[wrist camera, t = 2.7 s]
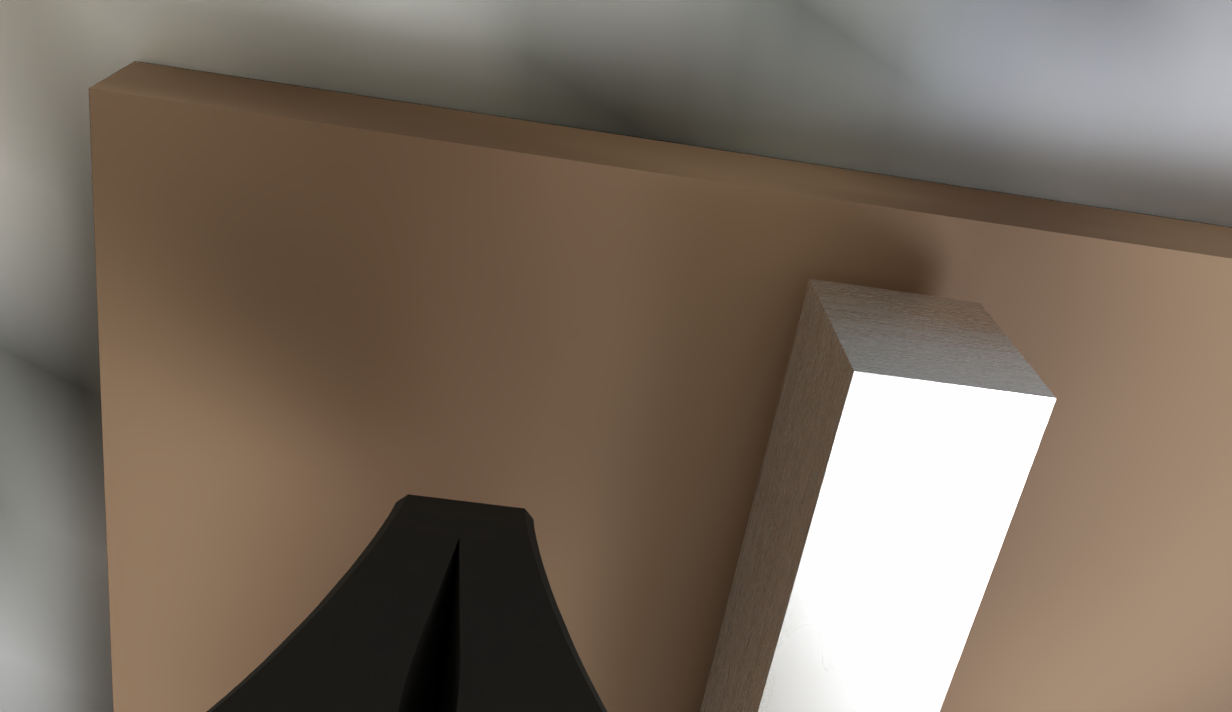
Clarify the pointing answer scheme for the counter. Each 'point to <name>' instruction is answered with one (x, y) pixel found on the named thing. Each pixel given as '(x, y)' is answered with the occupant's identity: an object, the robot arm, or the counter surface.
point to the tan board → (609, 384)
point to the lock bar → (877, 505)
